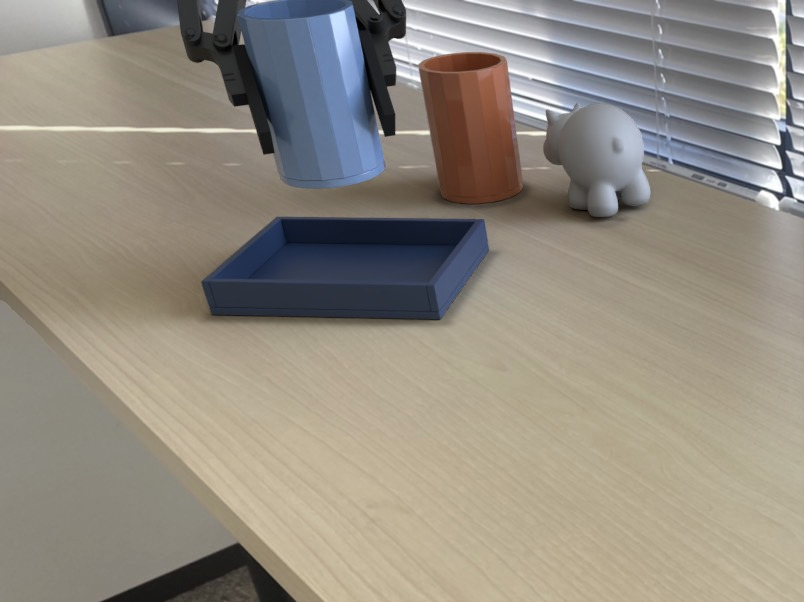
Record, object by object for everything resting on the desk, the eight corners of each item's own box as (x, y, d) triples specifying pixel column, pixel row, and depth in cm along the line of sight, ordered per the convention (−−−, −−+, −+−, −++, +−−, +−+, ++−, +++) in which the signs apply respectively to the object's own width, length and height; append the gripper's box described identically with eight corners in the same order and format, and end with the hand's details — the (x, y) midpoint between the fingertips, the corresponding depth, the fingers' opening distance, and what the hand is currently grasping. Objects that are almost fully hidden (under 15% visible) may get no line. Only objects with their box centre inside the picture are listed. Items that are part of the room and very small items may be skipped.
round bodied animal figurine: (589, 174, 108) (580, 79, 103) (664, 207, 101) (658, 105, 96) (522, 191, 105) (509, 93, 100) (594, 227, 97) (584, 123, 92)
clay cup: (430, 203, 103) (406, 73, 96) (454, 176, 109) (433, 51, 102) (511, 204, 102) (493, 73, 96) (531, 177, 108) (515, 51, 102)
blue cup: (263, 188, 81) (217, 20, 75) (304, 156, 87) (265, -3, 81) (365, 189, 81) (328, 19, 74) (399, 156, 87) (368, -4, 80)
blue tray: (210, 315, 84) (200, 281, 83) (284, 247, 95) (276, 216, 93) (440, 319, 83) (434, 285, 81) (489, 250, 93) (484, 218, 92)
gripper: (386, -129, 89) (472, 141, 86) (96, -108, 82) (180, 185, 80) (385, -209, 82) (479, 82, 79) (67, -193, 75) (159, 126, 73)
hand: (329, 134), depth 79 cm, fingers closed on blue cup, 7 cm apart
